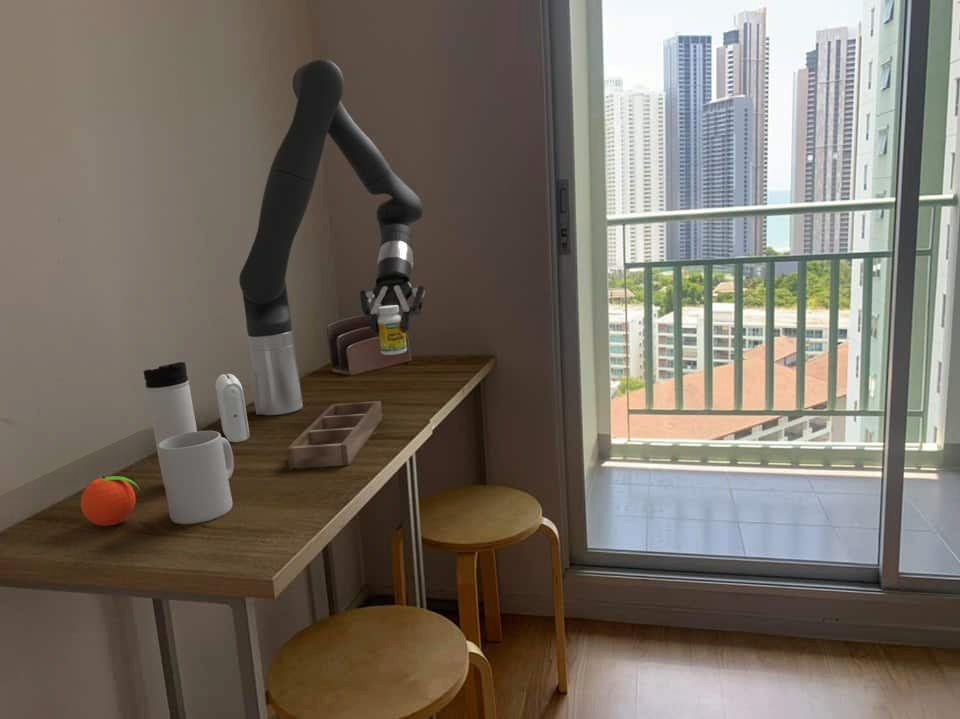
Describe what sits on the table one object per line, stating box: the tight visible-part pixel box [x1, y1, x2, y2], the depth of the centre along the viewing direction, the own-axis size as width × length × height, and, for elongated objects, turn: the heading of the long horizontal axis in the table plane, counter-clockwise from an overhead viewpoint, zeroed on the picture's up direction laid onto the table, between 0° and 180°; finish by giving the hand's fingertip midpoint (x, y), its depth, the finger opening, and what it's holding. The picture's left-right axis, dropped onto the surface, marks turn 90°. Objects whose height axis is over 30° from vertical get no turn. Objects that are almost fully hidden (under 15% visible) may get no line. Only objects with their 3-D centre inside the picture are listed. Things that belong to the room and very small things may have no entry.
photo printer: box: [215, 373, 250, 443], centre depth 144 cm, size 10×4×12 cm, turn 27°
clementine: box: [80, 475, 141, 527], centre depth 104 cm, size 8×7×7 cm
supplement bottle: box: [377, 305, 407, 355], centre depth 151 cm, size 5×5×10 cm
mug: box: [157, 430, 235, 525], centre depth 107 cm, size 12×8×11 cm
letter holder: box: [326, 314, 412, 377], centre depth 201 cm, size 10×20×14 cm, turn 130°
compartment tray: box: [286, 400, 383, 470], centre depth 135 cm, size 10×28×4 cm, turn 176°
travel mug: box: [143, 361, 198, 488], centre depth 117 cm, size 6×7×20 cm
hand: (389, 331), depth 149 cm, fingers closed on supplement bottle, 5 cm apart
